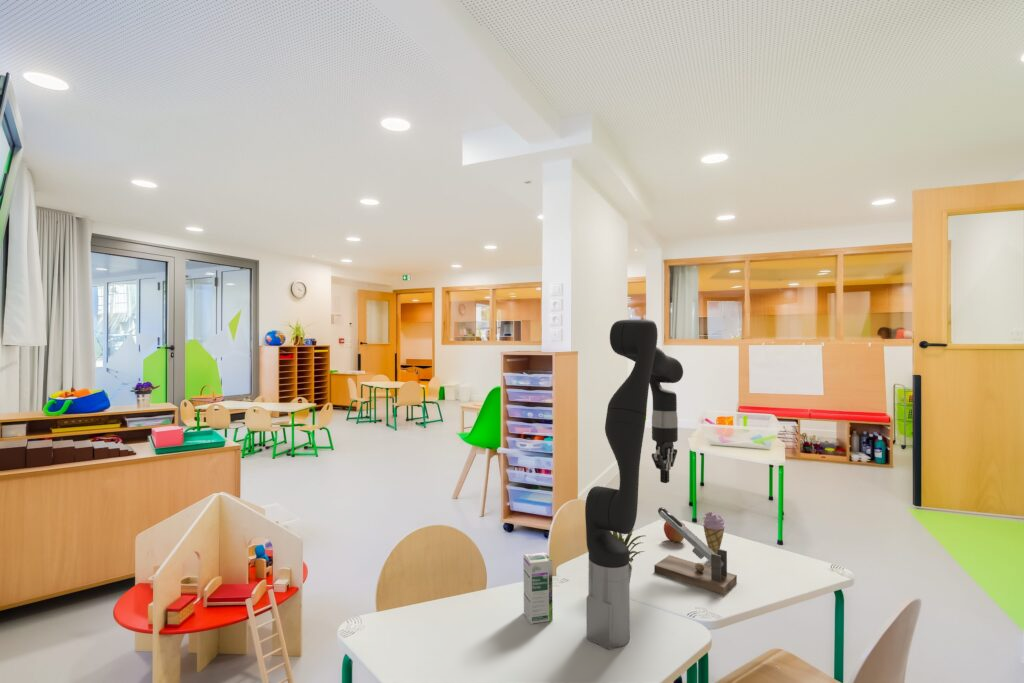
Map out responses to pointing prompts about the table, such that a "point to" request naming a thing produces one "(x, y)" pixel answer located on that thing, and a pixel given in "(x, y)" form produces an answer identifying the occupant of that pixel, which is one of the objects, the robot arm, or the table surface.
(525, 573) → the syrup box
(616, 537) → the house plant
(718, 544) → the ice cream cone
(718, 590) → the press base
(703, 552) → the lever
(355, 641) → the table surface
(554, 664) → the table surface
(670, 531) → the apple
